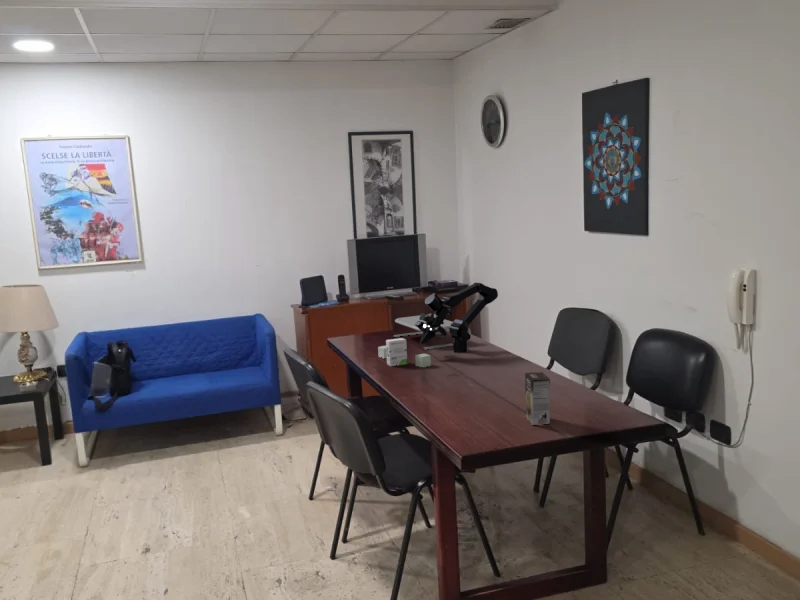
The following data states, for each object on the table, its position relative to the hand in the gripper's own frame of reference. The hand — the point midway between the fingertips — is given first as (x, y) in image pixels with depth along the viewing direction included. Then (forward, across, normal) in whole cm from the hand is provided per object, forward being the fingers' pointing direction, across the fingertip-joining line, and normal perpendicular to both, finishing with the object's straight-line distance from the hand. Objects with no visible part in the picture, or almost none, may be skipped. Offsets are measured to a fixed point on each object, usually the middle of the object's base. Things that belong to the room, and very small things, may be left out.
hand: (421, 343), depth 330 cm
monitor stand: (-14, -30, +26) cm, 42 cm away
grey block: (+13, -16, -1) cm, 20 cm away
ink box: (+16, 0, -4) cm, 16 cm away
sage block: (+10, +10, +1) cm, 15 cm away
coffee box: (+21, +98, -10) cm, 100 cm away
